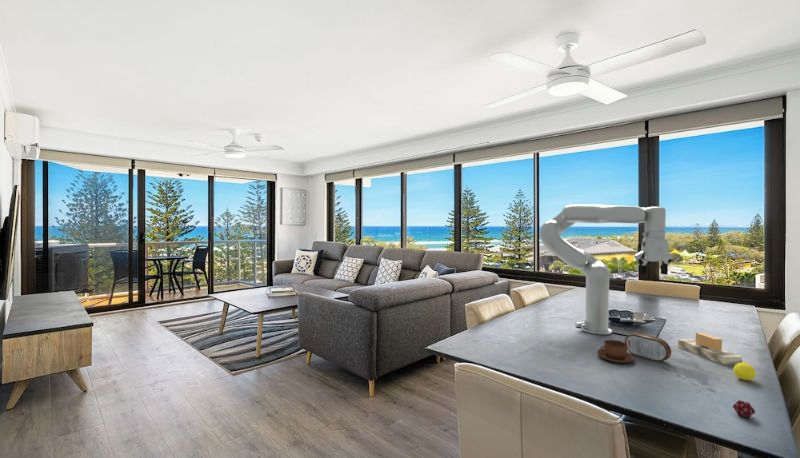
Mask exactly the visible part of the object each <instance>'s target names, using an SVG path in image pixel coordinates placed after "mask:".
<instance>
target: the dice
mask: <svg viewBox="0 0 800 458" xmlns="http://www.w3.org/2000/svg"><path fill="white" fill-rule="evenodd" d="M732 408H733V409H734V411H735V412H736V413H737V415H738V417H739V416H740V417H744V418H748V419H749V418H750V417H751V416H752V415H754V414H755V413H756V411H755V409H754V408H753V405H751V402H749V401H744V400H740V399H739V400H737V402H735V403H734V404H733V405H732Z"/></svg>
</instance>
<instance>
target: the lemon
mask: <svg viewBox="0 0 800 458" xmlns="http://www.w3.org/2000/svg"><path fill="white" fill-rule="evenodd" d="M733 366H734V367H733V369H732V370H733V373H734V375H735V376H736V377H737V378H739V379H740V380H741V381H751V380H755V377H756V373H757V371H756V369H755V367H753V365H751V364H749V363H747V362H742V363H738V364H736V365H733Z"/></svg>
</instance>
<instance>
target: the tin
mask: <svg viewBox="0 0 800 458" xmlns="http://www.w3.org/2000/svg"><path fill="white" fill-rule="evenodd" d="M624 343H626V344H627V352H628V353H629V354H631V355H633V356H637V357H640V358H644V359H647V360H651V361H654V362H659V363H660V362H665V361H667V360H669V359H670V357H671V356H672V349H671V347H670V345H669V343H668V342H667V341H666V340H664V339H662V338H659V337H655V336H653V335H647V334H643V333H639V332H632V333H630V334H628V335H627V336H626V337H625V339H624Z"/></svg>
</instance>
